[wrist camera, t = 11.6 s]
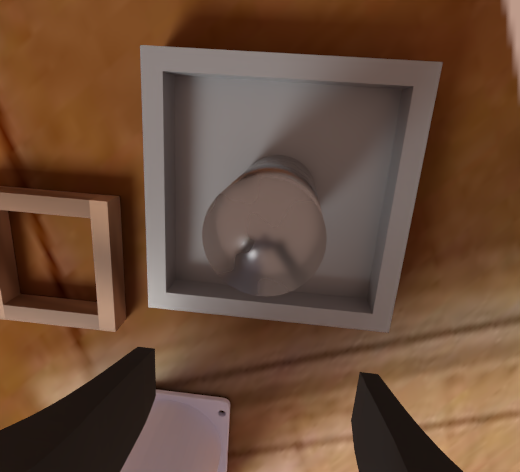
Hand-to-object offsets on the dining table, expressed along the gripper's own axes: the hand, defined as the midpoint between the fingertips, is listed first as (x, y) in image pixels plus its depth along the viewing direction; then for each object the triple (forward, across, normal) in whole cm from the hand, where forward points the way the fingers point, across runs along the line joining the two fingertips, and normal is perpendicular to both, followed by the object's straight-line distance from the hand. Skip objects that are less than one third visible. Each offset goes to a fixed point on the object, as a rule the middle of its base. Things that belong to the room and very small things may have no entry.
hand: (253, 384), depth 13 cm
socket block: (+9, +13, 0) cm, 16 cm away
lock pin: (+9, 0, -5) cm, 10 cm away
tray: (+9, 0, -5) cm, 11 cm away
